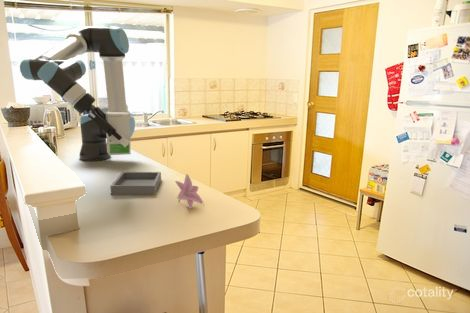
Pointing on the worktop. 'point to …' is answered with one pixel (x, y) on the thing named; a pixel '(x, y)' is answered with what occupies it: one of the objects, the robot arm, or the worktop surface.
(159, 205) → the worktop surface
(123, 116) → the skincare box
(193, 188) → the lily
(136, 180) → the tray
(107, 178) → the worktop surface
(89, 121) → the robot arm
